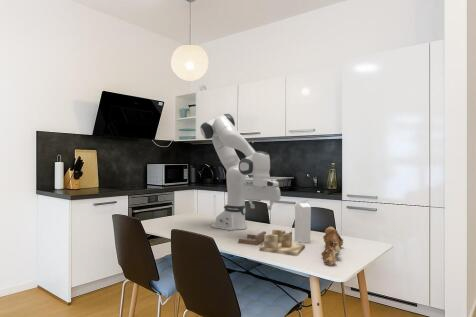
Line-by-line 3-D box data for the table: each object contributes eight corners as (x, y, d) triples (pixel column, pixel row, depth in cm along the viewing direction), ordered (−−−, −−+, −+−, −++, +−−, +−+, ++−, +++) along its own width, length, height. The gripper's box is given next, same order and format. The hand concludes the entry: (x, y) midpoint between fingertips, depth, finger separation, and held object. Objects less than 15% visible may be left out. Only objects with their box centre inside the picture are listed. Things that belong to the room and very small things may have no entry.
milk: (294, 240, 175) (294, 199, 176) (303, 239, 178) (303, 199, 179) (301, 243, 170) (302, 201, 170) (310, 242, 173) (311, 200, 173)
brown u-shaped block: (238, 242, 168) (238, 234, 168) (247, 237, 180) (248, 229, 180) (257, 245, 164) (257, 236, 164) (265, 240, 176) (265, 231, 176)
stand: (259, 250, 154) (259, 232, 154) (270, 243, 169) (270, 226, 169) (296, 255, 147) (297, 236, 147) (304, 247, 162) (305, 230, 162)
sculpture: (334, 256, 166) (324, 269, 134) (320, 232, 170) (306, 240, 138) (349, 248, 163) (342, 260, 131) (334, 223, 167) (324, 230, 135)
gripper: (240, 181, 172) (240, 208, 172) (278, 183, 163) (277, 211, 163) (245, 181, 178) (245, 206, 177) (281, 182, 169) (281, 209, 169)
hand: (261, 208), depth 170 cm, fingers open, 8 cm apart
